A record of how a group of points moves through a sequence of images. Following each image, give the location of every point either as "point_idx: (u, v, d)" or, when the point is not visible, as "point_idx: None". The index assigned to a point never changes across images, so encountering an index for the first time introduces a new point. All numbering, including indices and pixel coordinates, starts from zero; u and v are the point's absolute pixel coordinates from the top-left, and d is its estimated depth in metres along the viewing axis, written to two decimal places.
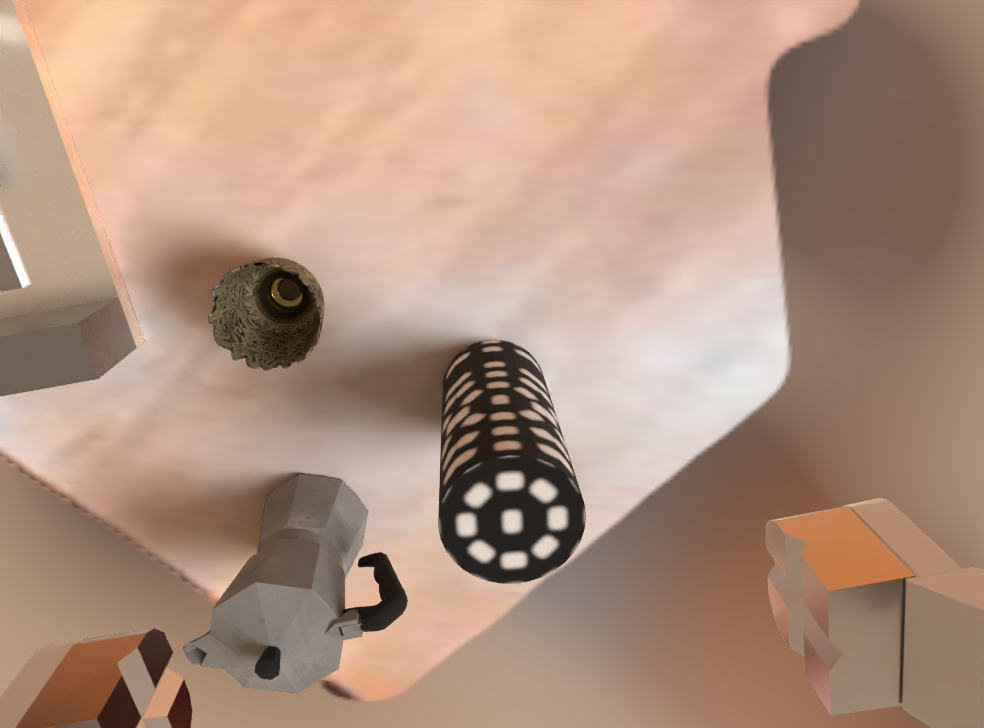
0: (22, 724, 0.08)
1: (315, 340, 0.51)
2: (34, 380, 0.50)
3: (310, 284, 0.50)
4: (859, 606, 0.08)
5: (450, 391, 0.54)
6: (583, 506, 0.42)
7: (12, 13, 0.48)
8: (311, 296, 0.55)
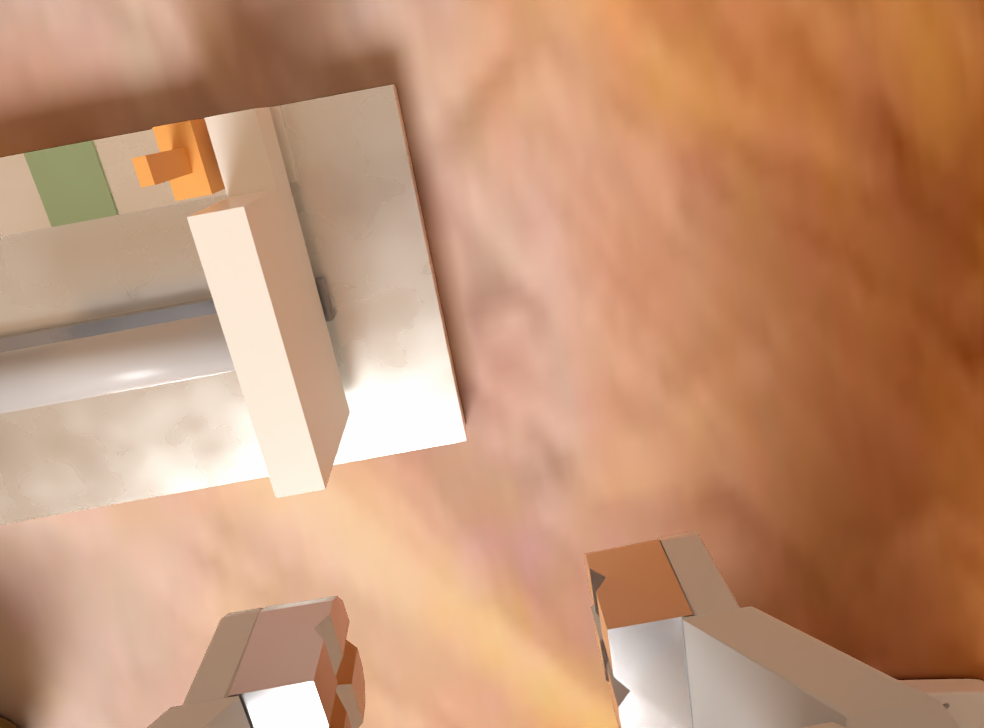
0: (235, 687, 0.08)
1: None
2: None
3: None
4: (641, 644, 0.08)
5: None
6: None
7: (354, 454, 0.31)
8: None
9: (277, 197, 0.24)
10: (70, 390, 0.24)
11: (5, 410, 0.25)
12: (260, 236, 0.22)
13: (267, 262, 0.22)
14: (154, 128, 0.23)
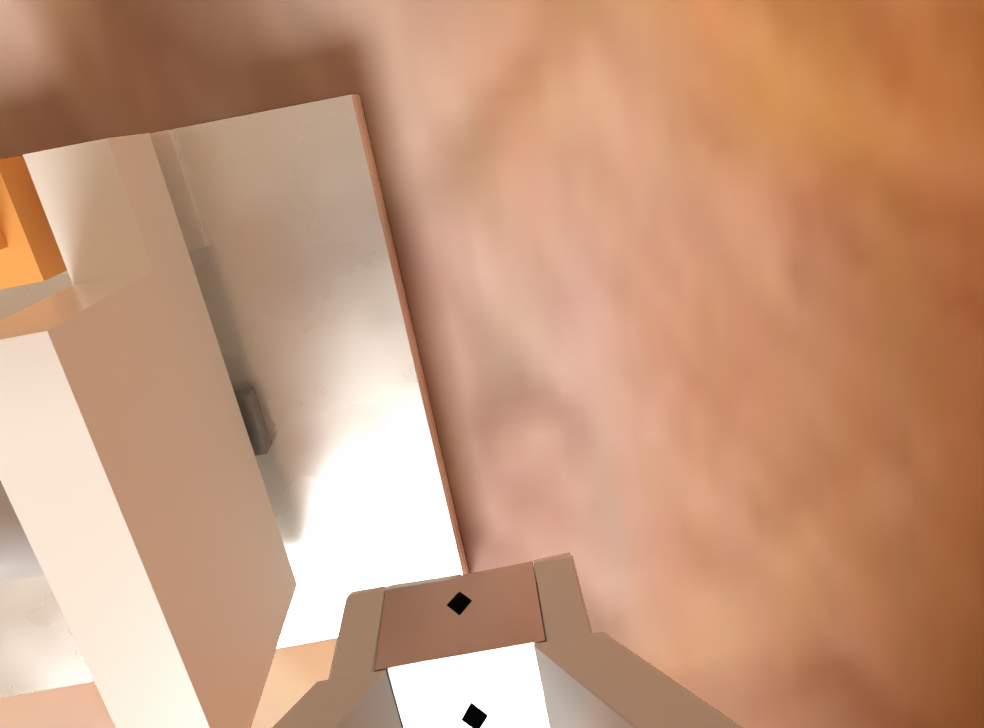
0: (380, 662, 0.08)
1: None
2: None
3: None
4: (495, 670, 0.08)
5: None
6: None
7: (307, 634, 0.21)
8: None
9: (155, 284, 0.15)
10: None
11: None
12: (95, 374, 0.12)
13: (111, 419, 0.12)
14: None
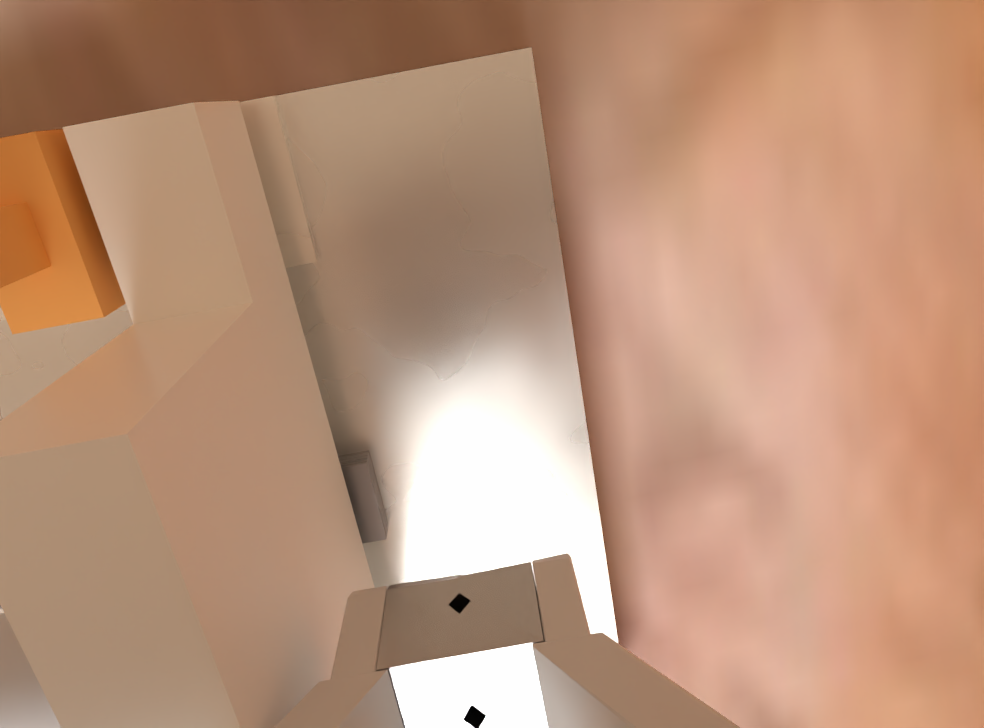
0: (381, 662, 0.08)
1: None
2: None
3: None
4: (493, 670, 0.08)
5: None
6: None
7: None
8: None
9: (256, 324, 0.10)
10: None
11: None
12: (196, 491, 0.07)
13: (220, 563, 0.07)
14: None
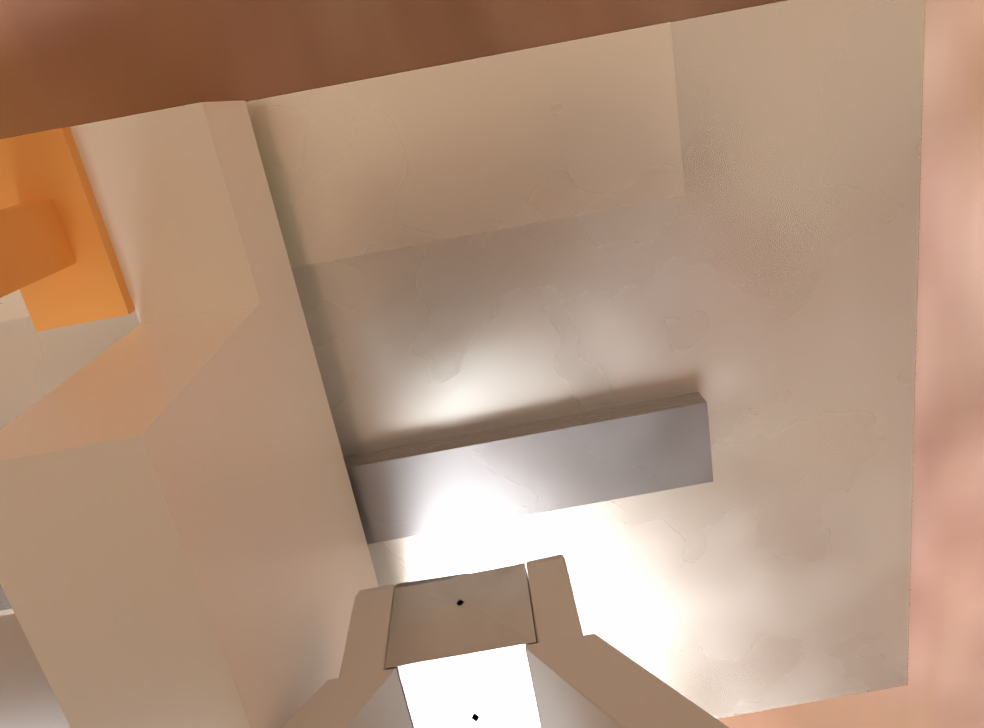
0: (390, 660, 0.08)
1: None
2: None
3: None
4: (486, 671, 0.08)
5: None
6: None
7: None
8: None
9: (264, 325, 0.10)
10: None
11: None
12: (208, 492, 0.07)
13: (230, 564, 0.07)
14: None
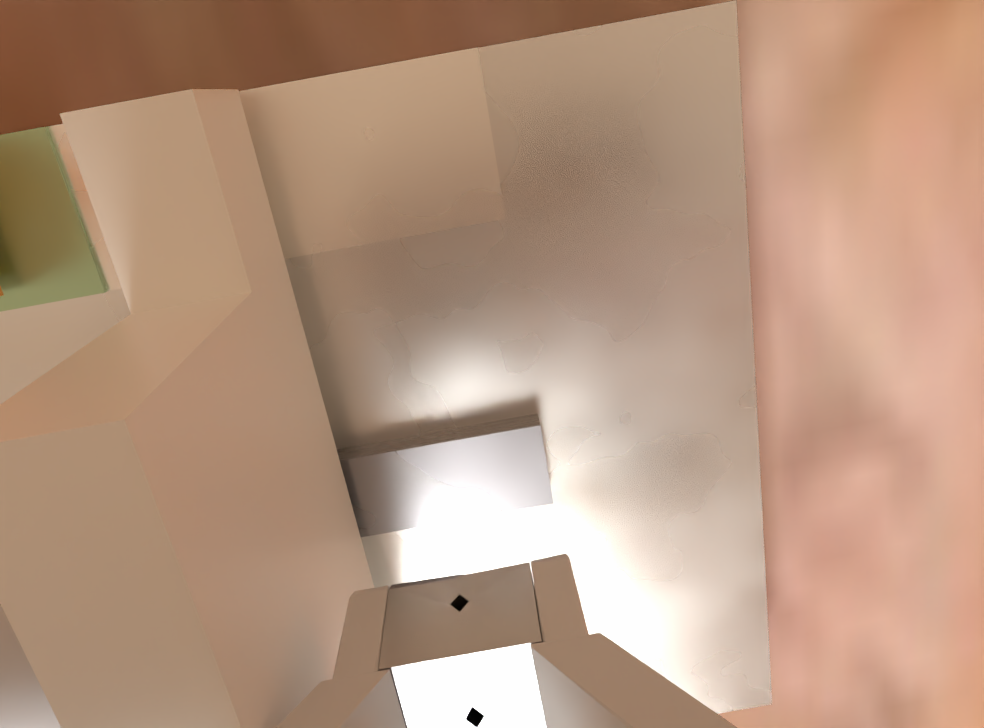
0: (383, 661, 0.08)
1: None
2: None
3: None
4: (491, 671, 0.08)
5: None
6: None
7: None
8: None
9: (255, 314, 0.10)
10: None
11: None
12: (194, 479, 0.07)
13: (218, 552, 0.07)
14: None
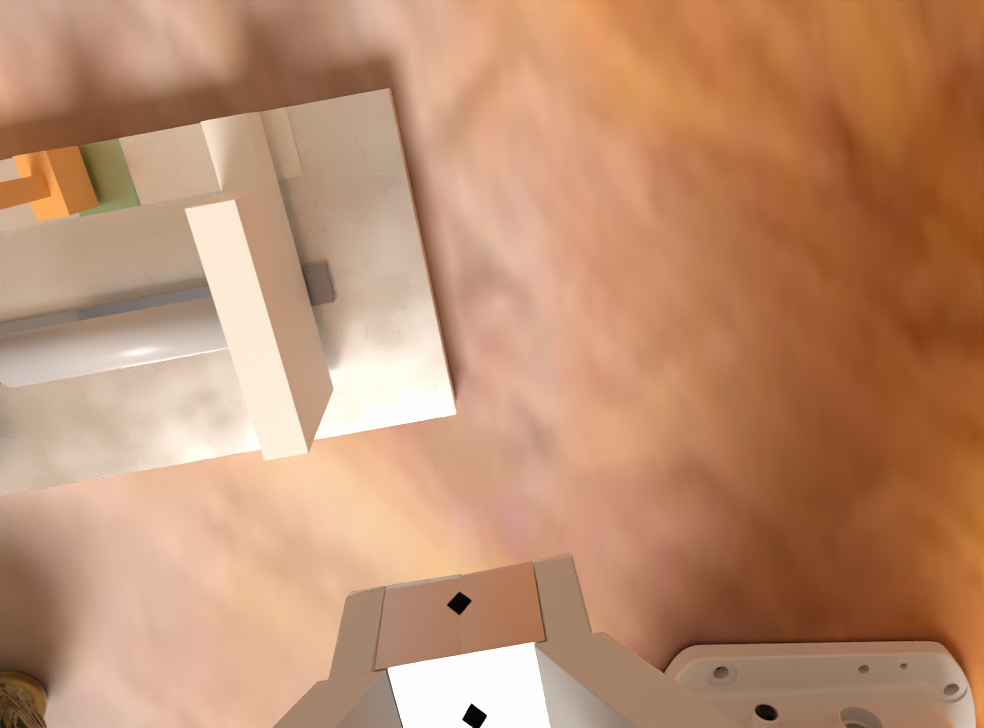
0: (380, 662, 0.08)
1: None
2: None
3: None
4: (494, 670, 0.08)
5: None
6: None
7: (353, 426, 0.34)
8: None
9: (266, 192, 0.27)
10: (80, 365, 0.27)
11: (22, 383, 0.28)
12: (249, 226, 0.24)
13: (256, 250, 0.25)
14: (14, 157, 0.26)
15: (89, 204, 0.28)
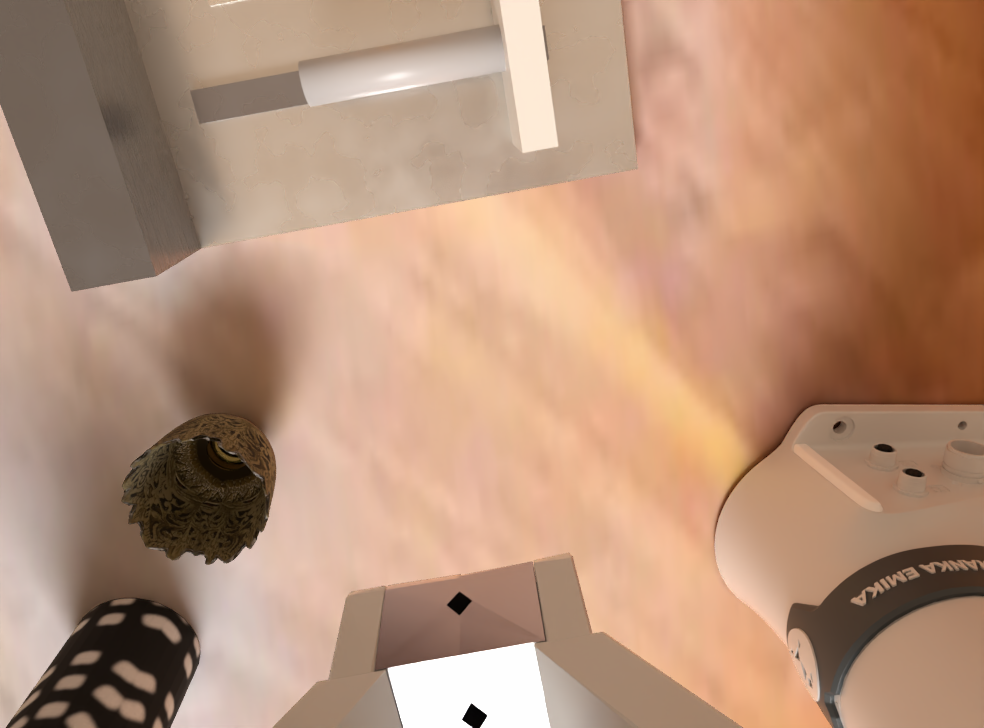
0: (379, 662, 0.08)
1: (173, 553, 0.40)
2: (52, 198, 0.33)
3: None
4: (494, 670, 0.08)
5: (127, 671, 0.44)
6: None
7: (551, 178, 0.40)
8: (230, 483, 0.45)
9: None
10: (369, 81, 0.34)
11: (319, 99, 0.34)
12: None
13: None
14: None
15: None
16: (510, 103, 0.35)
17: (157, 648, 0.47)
